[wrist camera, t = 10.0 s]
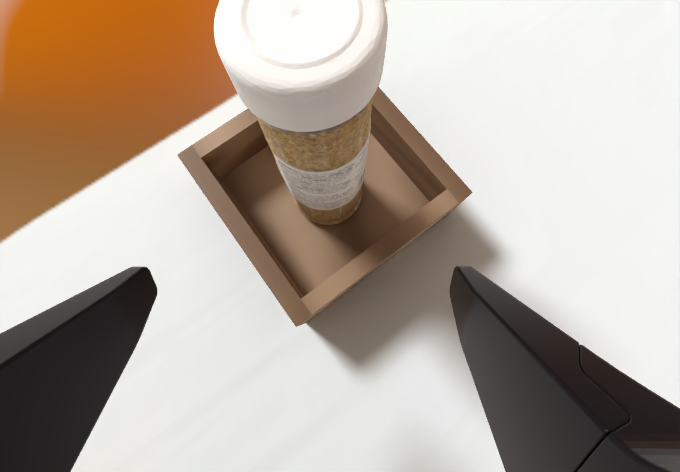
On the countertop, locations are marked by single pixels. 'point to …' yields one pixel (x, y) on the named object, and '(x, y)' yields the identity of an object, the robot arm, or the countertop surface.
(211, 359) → the countertop surface
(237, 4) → the sprinkles bottle
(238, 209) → the walnut crate
